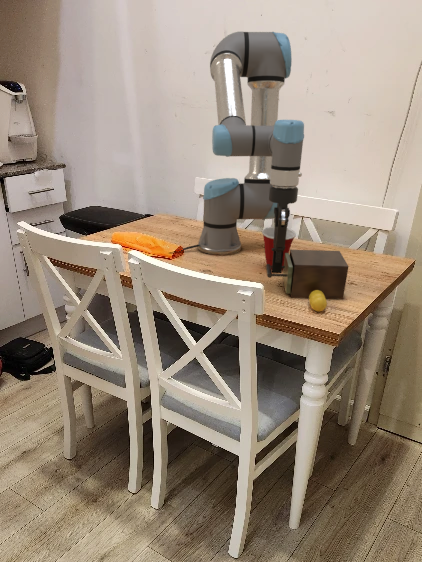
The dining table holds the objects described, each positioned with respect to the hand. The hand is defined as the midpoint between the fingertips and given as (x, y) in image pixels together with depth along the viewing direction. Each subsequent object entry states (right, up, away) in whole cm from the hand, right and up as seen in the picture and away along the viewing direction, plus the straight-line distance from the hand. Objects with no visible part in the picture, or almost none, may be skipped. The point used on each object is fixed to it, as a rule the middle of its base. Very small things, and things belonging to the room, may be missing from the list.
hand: (276, 271), depth 140 cm
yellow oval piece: (+10, -12, -9) cm, 18 cm away
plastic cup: (+2, +5, +18) cm, 18 cm away
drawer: (+6, -4, +2) cm, 8 cm away
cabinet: (+11, -5, +2) cm, 12 cm away
